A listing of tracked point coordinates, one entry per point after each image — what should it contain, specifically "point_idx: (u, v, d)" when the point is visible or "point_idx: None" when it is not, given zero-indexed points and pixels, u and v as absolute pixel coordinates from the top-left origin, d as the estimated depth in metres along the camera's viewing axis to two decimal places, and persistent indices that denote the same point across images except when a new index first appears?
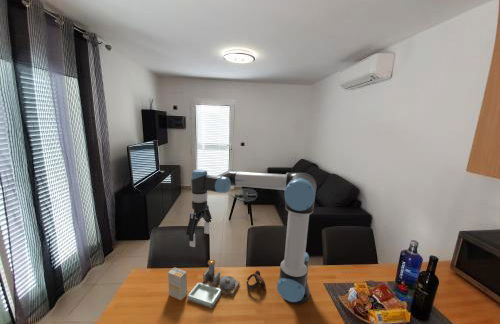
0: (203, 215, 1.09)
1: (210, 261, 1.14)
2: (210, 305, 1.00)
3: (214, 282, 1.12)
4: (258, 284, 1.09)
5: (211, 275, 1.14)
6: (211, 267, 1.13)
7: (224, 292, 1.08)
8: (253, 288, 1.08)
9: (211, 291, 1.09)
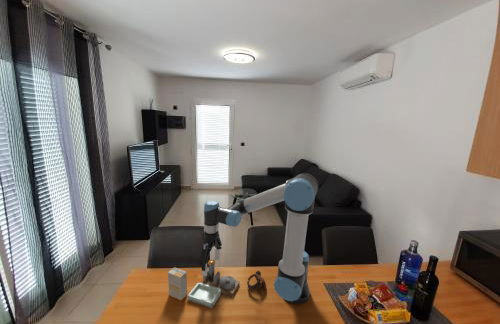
0: (214, 244, 1.14)
1: (210, 261, 1.14)
2: (210, 305, 1.00)
3: (214, 282, 1.12)
4: (259, 284, 1.09)
5: (211, 275, 1.14)
6: (211, 267, 1.13)
7: (224, 292, 1.08)
8: (254, 288, 1.08)
9: (211, 291, 1.09)
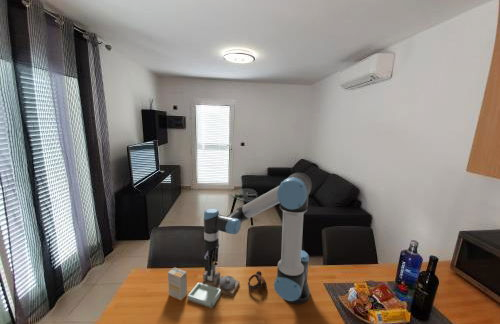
0: None
1: None
2: (210, 305, 1.00)
3: (214, 282, 1.12)
4: (260, 285, 1.09)
5: None
6: None
7: (224, 292, 1.08)
8: (255, 289, 1.08)
9: (211, 291, 1.09)
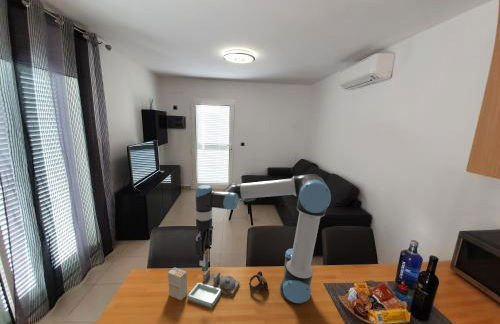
0: None
1: None
2: (210, 305, 1.00)
3: (214, 282, 1.12)
4: (261, 285, 1.08)
5: (205, 264, 1.02)
6: (205, 255, 1.02)
7: (224, 292, 1.08)
8: (256, 289, 1.08)
9: (211, 291, 1.09)
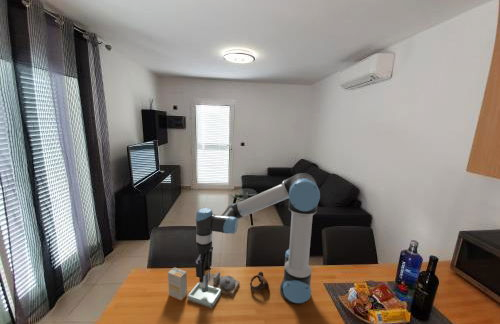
0: None
1: None
2: (210, 305, 1.00)
3: (214, 282, 1.12)
4: (262, 285, 1.08)
5: (205, 285, 1.04)
6: (205, 276, 1.03)
7: (224, 292, 1.08)
8: (257, 289, 1.08)
9: (211, 291, 1.09)
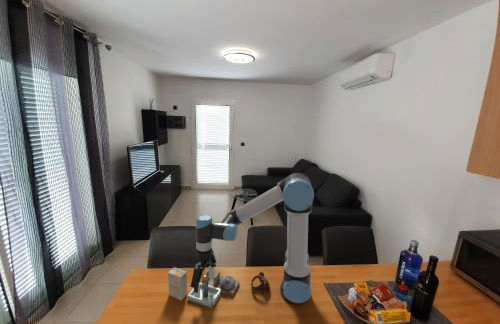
0: (208, 262, 1.05)
1: (203, 276, 1.05)
2: (210, 305, 1.00)
3: (214, 282, 1.12)
4: (263, 286, 1.08)
5: (206, 290, 1.05)
6: (205, 282, 1.04)
7: (224, 292, 1.08)
8: (258, 290, 1.07)
9: (211, 291, 1.09)
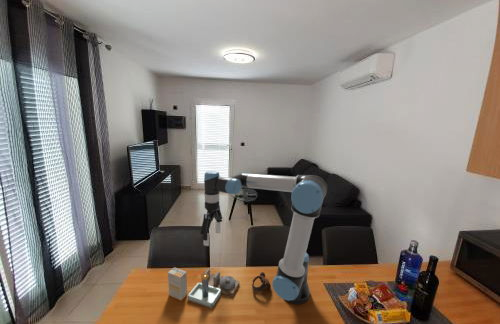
0: (215, 215, 1.13)
1: (203, 275, 1.05)
2: (210, 305, 1.00)
3: (214, 282, 1.12)
4: (264, 286, 1.08)
5: (206, 290, 1.05)
6: (205, 282, 1.04)
7: (224, 292, 1.08)
8: (259, 290, 1.07)
9: (211, 291, 1.09)
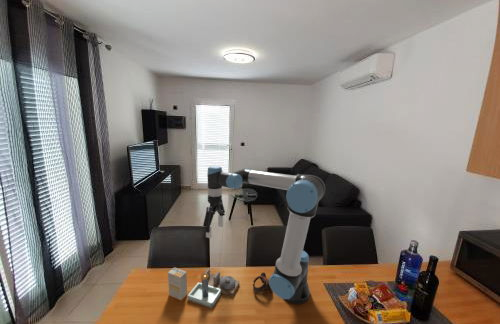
0: (218, 209, 1.17)
1: (203, 275, 1.05)
2: (210, 305, 1.00)
3: (214, 282, 1.12)
4: (265, 286, 1.08)
5: (205, 290, 1.05)
6: (205, 282, 1.04)
7: (224, 292, 1.08)
8: (260, 291, 1.07)
9: (211, 291, 1.09)
